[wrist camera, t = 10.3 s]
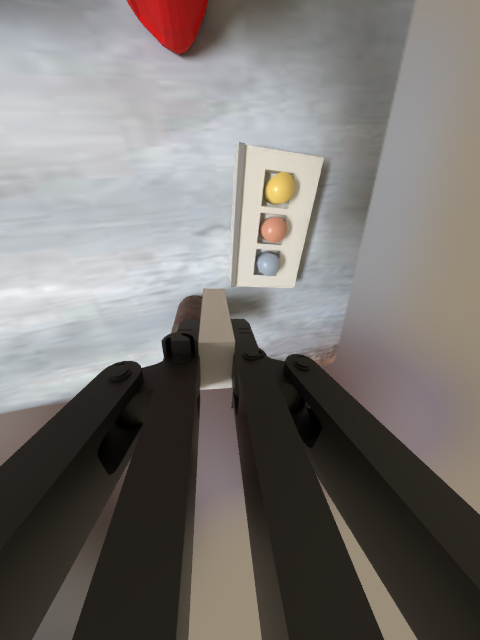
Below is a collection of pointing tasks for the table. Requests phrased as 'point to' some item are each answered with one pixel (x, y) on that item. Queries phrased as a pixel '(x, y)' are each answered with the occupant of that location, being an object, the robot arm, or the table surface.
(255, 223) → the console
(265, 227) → the button terracotta
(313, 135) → the table surface
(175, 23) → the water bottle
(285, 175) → the button mustard
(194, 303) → the brown rounded bar
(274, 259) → the button slate
